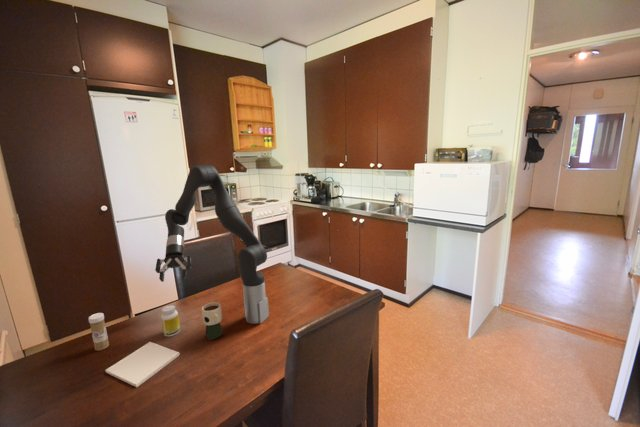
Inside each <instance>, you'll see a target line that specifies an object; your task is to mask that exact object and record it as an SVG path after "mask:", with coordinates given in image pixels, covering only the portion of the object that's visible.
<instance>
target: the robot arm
mask: <svg viewBox="0 0 640 427" xmlns="http://www.w3.org/2000/svg"><path fill="white" fill-rule="evenodd" d="M200 187H201V188H203V187H210V189H211V191H212V192H213V194H214V197H215V198H214V199H215V201H214V212H215V215H216V217H217V219H218V221H219V222H220V224H221V225H222V227H223V228H224V229H226V231H228V232H230V233H231V234H233V235H234V236H236V237H237V238H239V239H240V240H241V242H242V243H243V245H244V246H245V247H244V248H241V249H240V250H239V251H238V255H237V262H238V270H239V276H240V278H241V281H242V291H243V293H242V294H243V304H244V314H245V322H247V323H248V324H251V325H252V324H254V325H255V324H262V323H264V322H265V321H266V320H267V319H269V317H270V314H269V313H270V311H269V299H268V297H267V296H266V283H265V282H266V281H265V274H264V273H263V272H260V271H257V267H259V266H261V265H262V264H265V262H266V261H267V260H268V254H267V250H266V248H265V246H264V245H263V244H262V243H261V241H260V240H259V239H258V237H257V235H255V234H254V232H253V231H252V230H251V228H250V226H249V224H248V223H247V221H246V220H245V218H244V217H243V215H242V213H241V211H240V209H239V208H238V206H237V205H236V203H235V202H234V200H233V198H232V197H231V195H230V194H229V192H228V190H227V188H226V186H225V184H224V182H223V180H222V178H221V175H220V174H219V172H218V170H217V168H215V166H213V165H210V164H205V165H204V164H202V165H195V166H192V167H191V168H190V170H189V172H188V174H187V178H186V181H185V183H184V187H183V190H182V193H181V196H180V197H179V199H178V201H177V202H176V204H175V206H174V208H175V209H172V208H171V209H168V210H167V211H166V212H165V215H164V216H165V217H164V219H165V223H166V226H167V239H166V245H165V256H164V258H163V259H161V258H157V259H156V264H155V269H154V271H155V272H156V273H157V274H159V276H158V277H159V278H158V279H159V280H160V281H161V282H164V281H165V273H166V271H168V270H169V269H175V268H176V269H178V268H181V269H182V271H181V273H182V274H181V278H182V280H185V279H187V272H188V271H190V270H192V258H191V256H190V255H187V256H185V255H184V254H185V228H184V227H183V226H185V225H187V224H188V222H189V220H190V213H191V211H192V209H193V208H194V206H195V204H196V202H197V196H196V193H195V192H196V191H197V190H198V189H199V188H200ZM185 261H186V262H187V264H186V265H187V266H185V265H184V264H183V263H184V262H185ZM163 263H164V265H163ZM162 265H163V266H162Z"/></svg>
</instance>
